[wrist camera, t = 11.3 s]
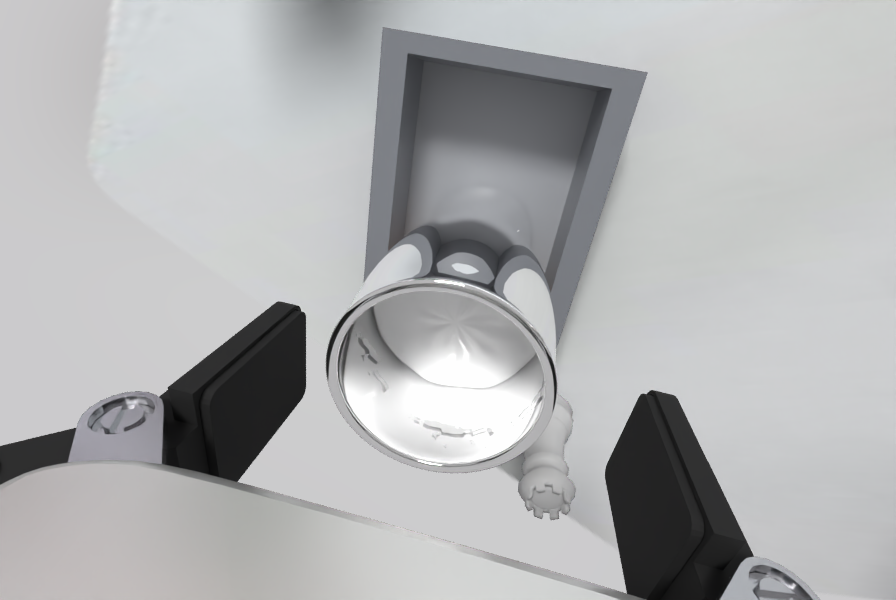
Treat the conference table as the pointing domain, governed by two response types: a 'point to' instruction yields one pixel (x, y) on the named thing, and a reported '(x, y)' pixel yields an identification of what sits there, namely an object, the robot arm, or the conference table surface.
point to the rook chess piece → (549, 467)
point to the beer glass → (451, 341)
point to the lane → (498, 143)
